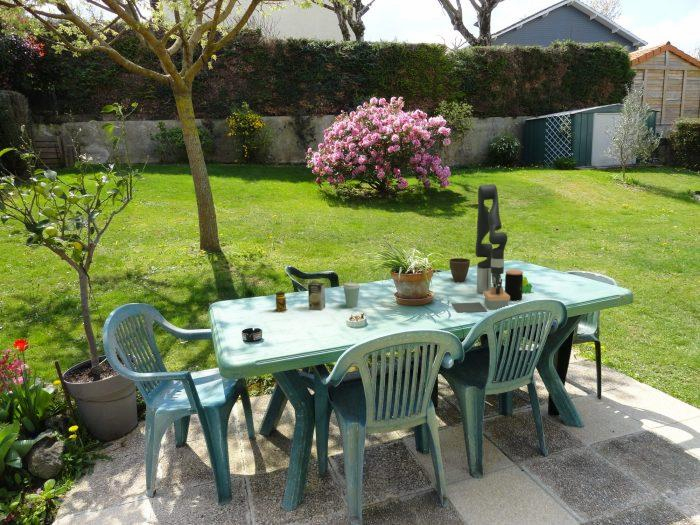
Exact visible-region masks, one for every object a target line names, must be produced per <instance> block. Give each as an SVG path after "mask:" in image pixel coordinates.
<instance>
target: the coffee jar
mask: <svg viewBox="0 0 700 525" xmlns="http://www.w3.org/2000/svg"><path fill="white" fill-rule="evenodd" d="M523 274H524V272H523V271H522V270H519V269H507V270H505V275H504V276H505V277H504V291H505V292H506V293H507V294H508V295H509V296H510V300H511V302H518V301H517V300H520V301H522V299H523V293H522V287H523V277H524V275H523Z"/></svg>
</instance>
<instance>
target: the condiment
mask: <svg viewBox="0 0 700 525" xmlns="http://www.w3.org/2000/svg"><path fill="white" fill-rule="evenodd" d="M286 299H287V298H286V293H285V292H284V291H281V290H280V291H277V292H275V305H276V306H275V307H276V308H275V309H273V310H272V311H271V312H272V313H285V312H287V311H288V310H289V308H287V300H286Z"/></svg>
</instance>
